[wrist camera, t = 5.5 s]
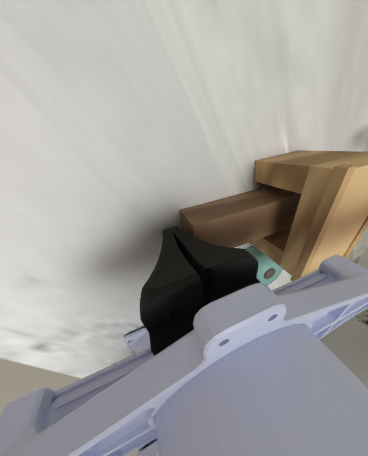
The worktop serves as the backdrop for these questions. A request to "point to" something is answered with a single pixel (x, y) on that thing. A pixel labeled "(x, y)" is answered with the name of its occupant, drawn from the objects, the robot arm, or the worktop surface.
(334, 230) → the wooden arch block
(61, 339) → the worktop surface
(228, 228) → the brown wooden bar
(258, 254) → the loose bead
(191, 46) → the worktop surface
